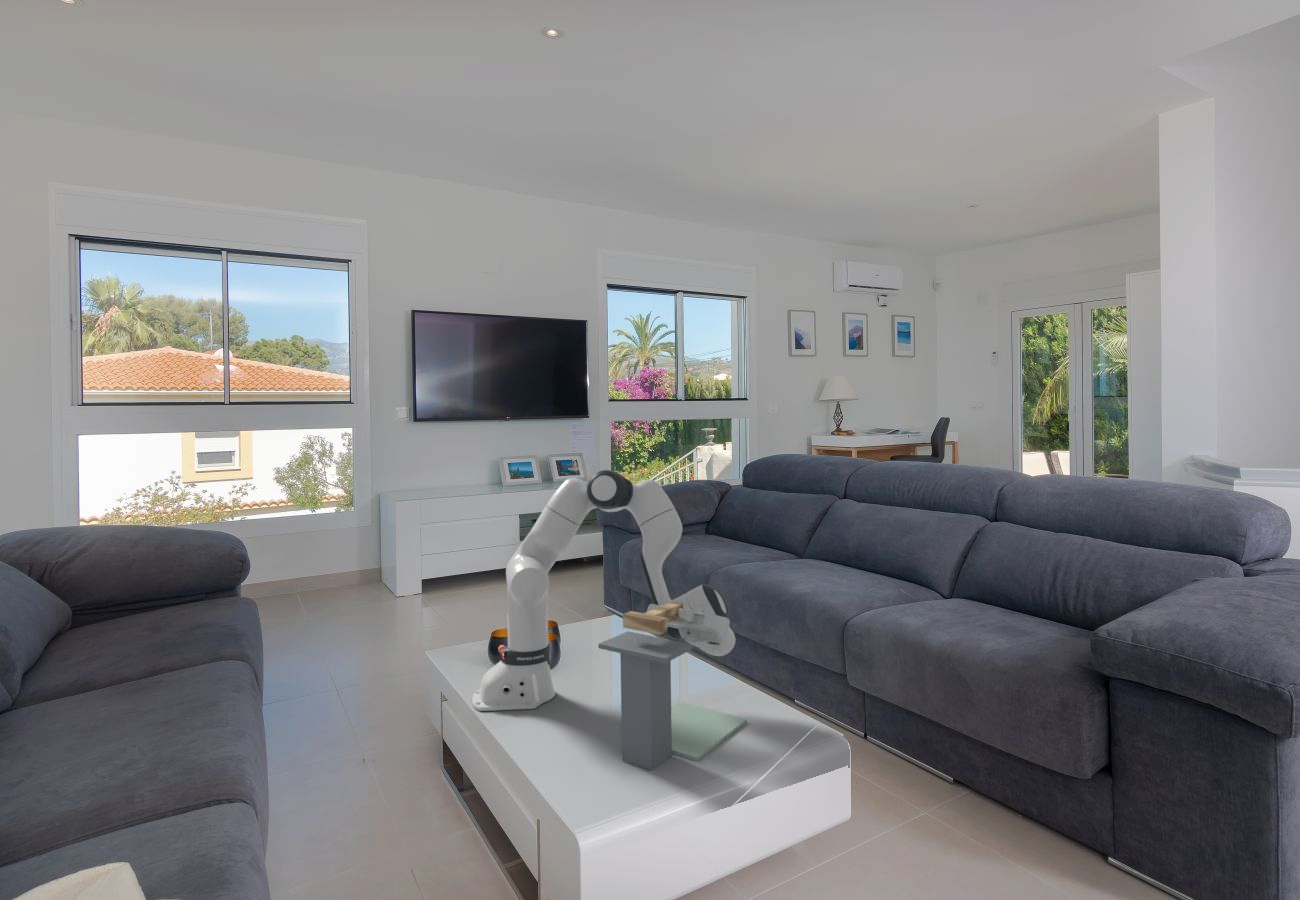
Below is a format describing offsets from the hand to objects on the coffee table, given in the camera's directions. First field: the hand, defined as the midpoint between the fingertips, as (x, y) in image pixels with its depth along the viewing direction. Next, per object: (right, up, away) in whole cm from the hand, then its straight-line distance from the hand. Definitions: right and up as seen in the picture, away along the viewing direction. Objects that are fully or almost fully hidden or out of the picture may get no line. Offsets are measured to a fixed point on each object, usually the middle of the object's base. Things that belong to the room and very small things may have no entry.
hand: (670, 610), depth 165 cm
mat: (+4, -31, +7) cm, 32 cm away
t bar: (-2, -2, -3) cm, 5 cm away
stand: (-5, -32, -7) cm, 33 cm away
